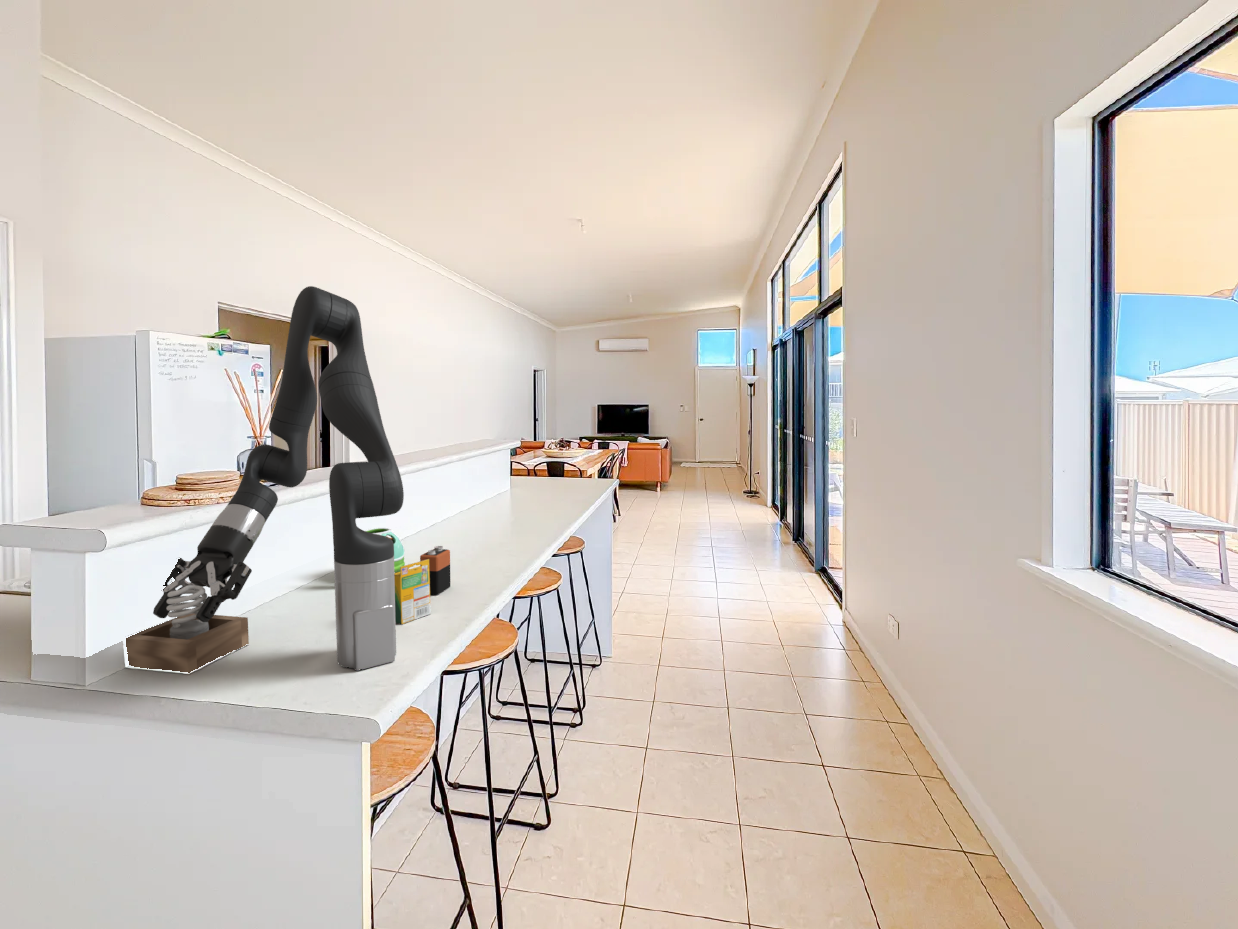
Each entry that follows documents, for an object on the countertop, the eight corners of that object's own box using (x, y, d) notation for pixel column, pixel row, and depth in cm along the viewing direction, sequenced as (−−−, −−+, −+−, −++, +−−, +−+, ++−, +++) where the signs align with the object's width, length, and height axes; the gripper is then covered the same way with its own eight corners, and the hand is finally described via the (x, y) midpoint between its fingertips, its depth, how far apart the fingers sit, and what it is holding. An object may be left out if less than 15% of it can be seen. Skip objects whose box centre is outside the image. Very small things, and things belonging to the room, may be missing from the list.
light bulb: (205, 646, 104) (200, 579, 103) (216, 654, 100) (211, 585, 99) (166, 656, 99) (160, 587, 98) (176, 665, 96) (170, 593, 95)
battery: (451, 587, 140) (450, 545, 139) (437, 596, 133) (437, 552, 132) (434, 586, 141) (433, 544, 140) (419, 594, 134) (419, 551, 133)
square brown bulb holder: (248, 645, 105) (247, 617, 104) (188, 674, 93) (187, 644, 92) (190, 639, 107) (188, 612, 106) (124, 668, 95) (122, 638, 94)
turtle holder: (323, 588, 138) (321, 538, 136) (375, 568, 155) (373, 523, 154) (368, 593, 134) (366, 542, 133) (416, 572, 152) (415, 526, 150)
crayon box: (421, 611, 123) (420, 556, 122) (431, 614, 121) (430, 558, 120) (391, 622, 117) (390, 564, 116) (401, 625, 115) (400, 566, 114)
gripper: (185, 521, 106) (126, 604, 96) (255, 525, 104) (202, 611, 94) (212, 544, 112) (158, 624, 102) (279, 548, 110) (231, 631, 99)
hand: (179, 618), depth 98 cm, fingers open, 8 cm apart
